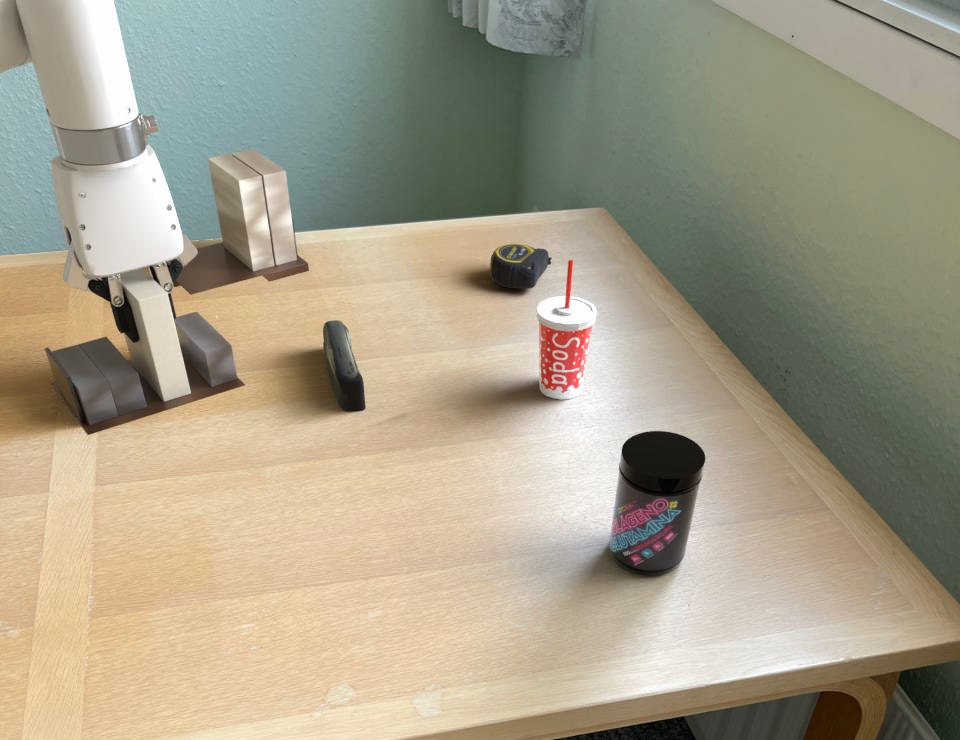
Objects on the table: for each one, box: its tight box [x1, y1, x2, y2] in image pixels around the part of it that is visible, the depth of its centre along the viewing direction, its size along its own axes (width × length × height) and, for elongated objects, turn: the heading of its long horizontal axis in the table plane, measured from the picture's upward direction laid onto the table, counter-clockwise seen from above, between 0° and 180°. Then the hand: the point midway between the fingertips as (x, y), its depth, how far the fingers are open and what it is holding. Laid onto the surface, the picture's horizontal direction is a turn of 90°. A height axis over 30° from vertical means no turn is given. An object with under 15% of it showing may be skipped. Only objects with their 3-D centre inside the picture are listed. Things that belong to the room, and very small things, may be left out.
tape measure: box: [489, 243, 553, 289], centre depth 120 cm, size 7×7×4 cm
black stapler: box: [322, 319, 366, 413], centre depth 102 cm, size 5×3×15 cm
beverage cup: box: [536, 259, 598, 401], centre depth 98 cm, size 6×6×14 cm
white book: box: [120, 268, 191, 402], centre depth 98 cm, size 3×9×11 cm, turn 35°
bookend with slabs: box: [174, 148, 310, 296], centre depth 119 cm, size 16×12×12 cm
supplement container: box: [608, 430, 706, 576], centre depth 80 cm, size 7×7×10 cm
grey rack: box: [44, 311, 246, 436], centre depth 100 cm, size 17×12×6 cm
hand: (148, 330), depth 98 cm, fingers closed on white book, 3 cm apart
